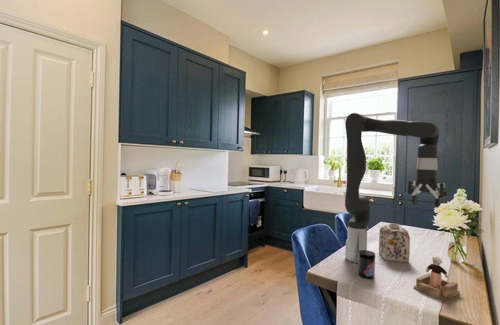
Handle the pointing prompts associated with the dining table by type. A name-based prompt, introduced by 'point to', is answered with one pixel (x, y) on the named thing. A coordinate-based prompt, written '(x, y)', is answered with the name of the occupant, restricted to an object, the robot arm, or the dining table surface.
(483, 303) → the dining table surface
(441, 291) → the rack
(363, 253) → the supplement container
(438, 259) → the grandmother figurine
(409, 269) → the dining table surface
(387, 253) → the decorative jar
